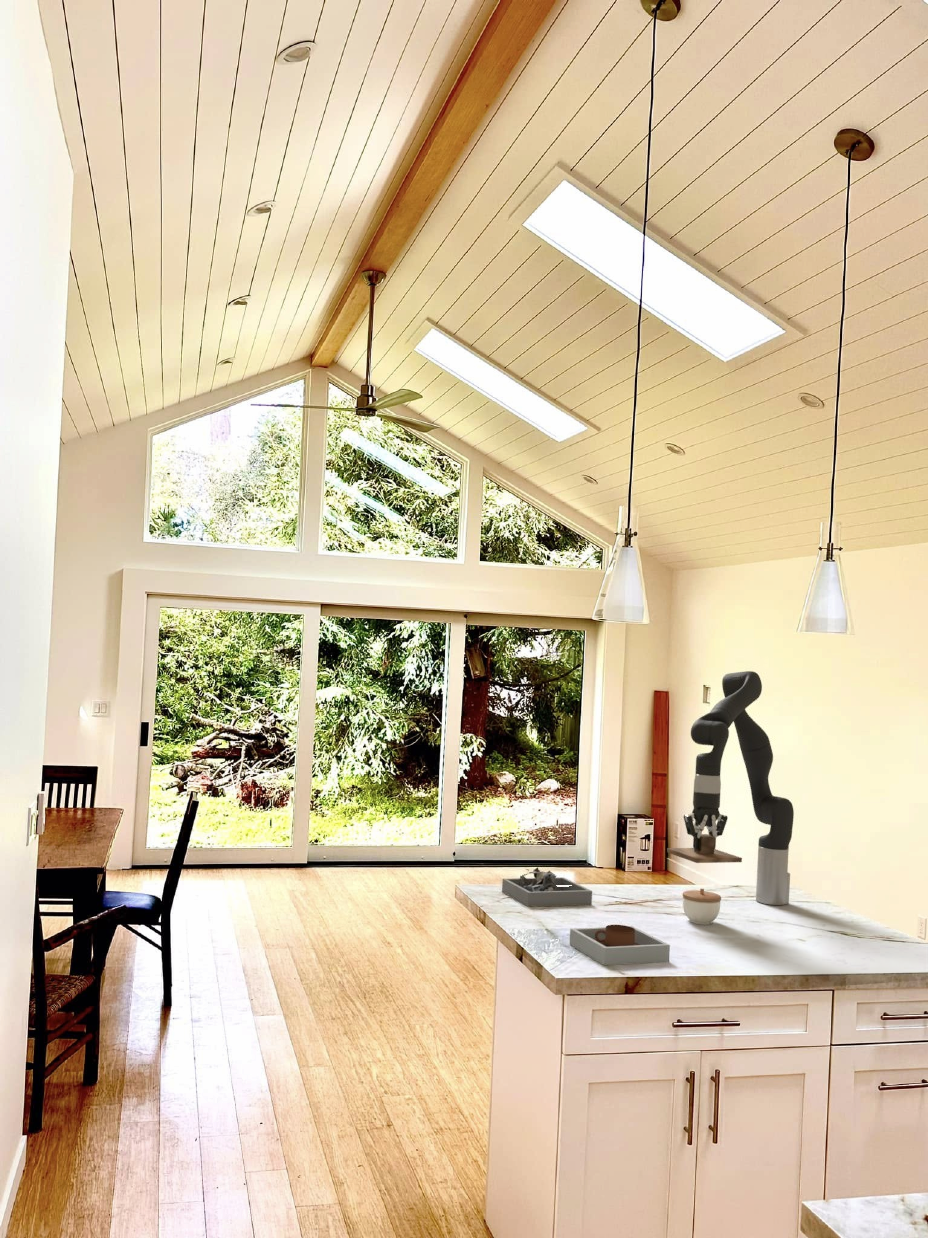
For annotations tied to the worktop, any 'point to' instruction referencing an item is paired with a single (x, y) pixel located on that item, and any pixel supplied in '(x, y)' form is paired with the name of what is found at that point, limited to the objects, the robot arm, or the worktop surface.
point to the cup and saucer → (617, 936)
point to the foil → (538, 881)
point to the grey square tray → (619, 947)
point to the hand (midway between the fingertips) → (704, 850)
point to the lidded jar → (701, 906)
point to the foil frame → (548, 893)
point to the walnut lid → (704, 852)
